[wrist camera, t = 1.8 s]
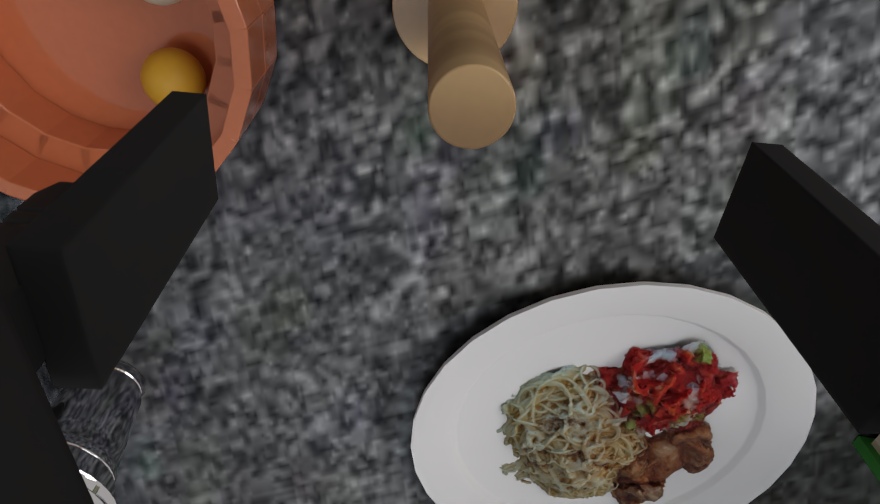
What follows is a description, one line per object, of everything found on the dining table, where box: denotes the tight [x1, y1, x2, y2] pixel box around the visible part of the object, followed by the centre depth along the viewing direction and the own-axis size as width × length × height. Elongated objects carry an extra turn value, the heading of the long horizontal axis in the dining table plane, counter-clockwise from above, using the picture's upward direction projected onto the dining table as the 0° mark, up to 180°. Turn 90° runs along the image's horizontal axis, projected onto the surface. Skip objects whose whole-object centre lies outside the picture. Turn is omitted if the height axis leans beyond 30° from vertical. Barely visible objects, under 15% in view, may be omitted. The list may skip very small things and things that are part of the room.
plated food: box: [411, 281, 816, 504], centre depth 46 cm, size 30×30×3 cm
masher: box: [392, 0, 518, 149], centre depth 24 cm, size 6×6×15 cm
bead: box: [140, 47, 206, 105], centre depth 30 cm, size 3×3×3 cm
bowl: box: [0, 0, 277, 200], centre depth 28 cm, size 17×17×6 cm
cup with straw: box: [50, 361, 146, 504], centre depth 36 cm, size 8×9×20 cm
